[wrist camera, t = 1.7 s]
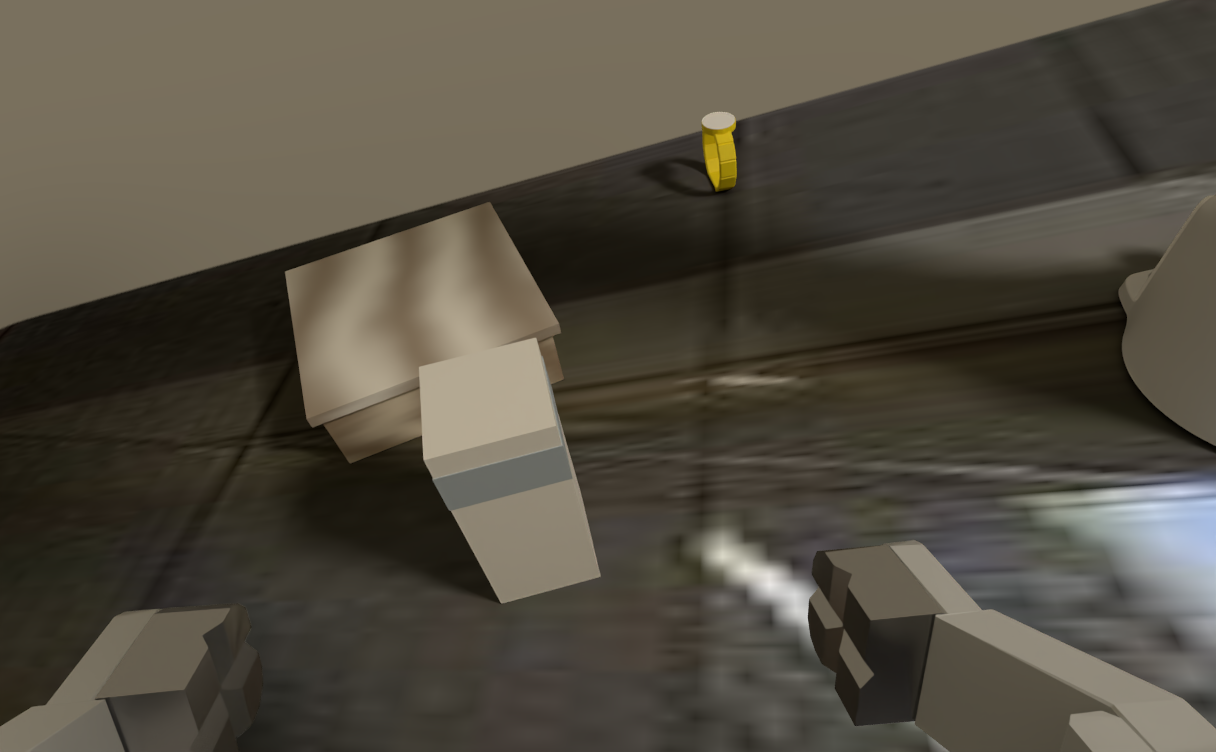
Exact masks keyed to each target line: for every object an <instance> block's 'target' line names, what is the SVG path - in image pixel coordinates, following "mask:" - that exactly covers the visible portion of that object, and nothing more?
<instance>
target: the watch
mask: <svg viewBox="0 0 1216 752" xmlns="http://www.w3.org/2000/svg"><path fill="white" fill-rule="evenodd" d="M735 127H736V120H735V117H734V116H733V115H732V114H730V113H727V112H714V113H711V114H708V115H706V116H705V117H704V118H703V119H702V131H703V132H702V137H703V152H704V160H705V165H706V169H707V174H708V176H709V177H710V179H711V181H712V183H713V185H714V187H715V189H716V190H715V191H717V192H719V191H724V190H729V189H732V188H733V187H734V186H735V182H736V174H737V169H736V154H735V147H734V143H733V137H732V134H731V132H732V131H733V130H734V129H735Z"/></svg>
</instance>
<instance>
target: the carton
mask: <svg viewBox="0 0 1216 752" xmlns="http://www.w3.org/2000/svg"><path fill="white" fill-rule="evenodd" d="M419 380H420V400H421V420H422V440H423V460H424V462H425V464H426V466H427V468H428V469H429V471H430V473H431V475H432V480H433V482H434V484H435V486H436V488H437V489H438V491H439V493H440V495H441V497H442V499H443V500H444V502H445V504H446V506H447V508H448V510H449V511H451V512H452V514H453V516H454V517H455V519H456V521H457V523H458V525H459V527H460V529H461V530H462V532H463V534H464V536H465V538H466V540H467V541H468V543H469V545H470V547H471V549H472V551H473V553H474V554H475V556H476V558H477V560H478V562H479V564H480V565H481V567H482V569H483V571H484V573H485V575H486V577H487V578H488V580H489V582H490V584H491V586H492V588H493V589H494V591H495V593H496V595H497V597H498V599H499V601H500V602H501V604H502V603H506V602H509V601H513V600H517V599H521V598H524V597H528V596H532V595H535V594H539V593H543V592H546V591H550V590H554V589H557V588H561V587H565V586H568V585H572V584H576V583H579V582H583V581H587V580H590V579H594V578H598V577H601V576H600V572H599V568H598V563H597V559H596V555H595V551H594V547H593V542H592V538H591V534H590V530H589V525H588V521H587V517H586V513H585V508H584V504H583V500H582V496H581V492H580V489H579V485H578V482H577V478H576V475H575V471H574V468H573V464H572V461H571V457H570V454H569V450H568V447H567V443H566V440H565V436H564V433H563V429H562V426H561V422H560V419H559V415H558V412H557V408H556V404H555V400H554V395H553V391H552V387H551V384H550V380H549V377H548V373H547V370H546V366H545V363H544V359H543V356H541V353H540V349H539V346H538V342H537V339H536V338H532V339H528V340H524V341H520V342H516V343H512V344H508V345H504V346H500V347H496V348H492V349H488V350H484V351H480V352H476V353H472V354H468V355H464V356H460V357H456V358H452V359H448V360H444V361H440V362H436V363H432V364H428V365H424V366H420V367H419Z"/></svg>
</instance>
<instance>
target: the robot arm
mask: <svg viewBox="0 0 1216 752" xmlns="http://www.w3.org/2000/svg"><path fill="white" fill-rule="evenodd" d="M1119 298H1120V301H1121V303H1122V306H1123V308H1124V310H1125V312H1126V314H1127V324H1126V328H1125V331H1124V335H1123V339H1122V354H1123V359H1124V362H1125V365H1126V368H1127V370H1128V372H1129V374H1130V376H1131V378H1132V379H1133V381H1134V382H1135V384H1136V385H1137V387H1138V388H1139V389H1140V390H1141V392H1142V393H1143V394H1144V395H1145V396H1146V397H1147V398H1148V400H1149V401H1150V402H1151V403H1152V404H1153V405H1155V406H1156V407H1157V408H1158V409H1159V410H1160V411H1161V412H1162V413H1164V414H1165V415H1166V416H1167V417H1169V418H1170V419H1171V420H1173V421H1174V422H1176V423H1177V424H1178V425H1180V426H1181V427H1183V428H1184V429H1186V430H1187V431H1189V432H1191V433H1192V434H1194V435H1196V436H1198V437H1199V438H1201V439H1203V440H1205V441H1207V442H1209V443H1211V444H1213V445H1215V446H1216V195H1214V196H1207V197H1206V198H1204V199H1203V200H1202V201H1201V202H1200V203H1199V204H1198V205H1197V206H1196V207H1195V209H1194V210H1193V212H1192V213H1191V215H1190V216H1189V218H1188V219H1187V221H1186V222H1185V224H1184V225H1183V227H1182V228H1181V230H1180V231H1179V233H1178V234H1177V236H1176V237H1175V239H1174V240H1173V242H1172V243H1171V245H1170V246H1169V248H1168V249H1167V251H1166V252H1165V254H1164V255H1163V257H1162V258H1161V260H1160V261H1159V263H1158V264H1157V266H1156V267H1155V269H1151V270H1147V271H1143V272H1139V273H1135V274H1132V275H1130V276H1128V277H1127V278H1126V280H1125V281H1124V282H1123V284H1122V285H1121V287H1120V288H1119ZM812 576H813V577H814V579H815V581H816V582H817V584H818V586H819V588H818V589H817V590H816V592H815V593H814V594H813V595H812V596H811V597H810V599H809V609H808V622H809V629H810V636H811V639H812V642H813V645H814V648H815V651H816V653H817V655H818V657H819V659H820V661H821V663H822V664H823V665H824V666H826V667H827V668H829V669H830V670H832V671H833V672H835V673H837V674H836V682H835V690H836V692H837V693H838V695H839V697H840V699H841V701H842V703H843V705H844V706H845V708H846V710H847V712H848V714H849V716H850V718H851V719H852V721H853V723H854V725H855V726H865V725H876V724H888V723H900V722H911V721H915V725H916V726H918V727H919V728H920V729H922V730H923V731H924V732H925V733H927V734H928V735H929V736H930V737H932V738H933V739H934V740H936V741H937V742H938V743H939V744H941V745H942V746H943V747H945V748H946V749H947V750H948V751H950V752H1216V729H1215V728H1214V727H1213V726H1212V725H1211V724H1210V723H1209V722H1208V721H1207V720H1206V719H1204V718H1203V717H1202V716H1201V715H1200V714H1199V713H1198V712H1197V711H1196V710H1195V709H1194V708H1192V707H1191V706H1190V705H1189V704H1188V703H1187V702H1186V701H1185V700H1184V699H1182V698H1180V697H1178V696H1176V695H1174V694H1171V693H1169V692H1167V691H1165V690H1163V689H1161V688H1159V687H1157V686H1154V685H1152V684H1150V683H1148V682H1146V681H1144V680H1142V679H1139V678H1137V677H1135V676H1133V675H1131V674H1129V673H1127V672H1125V671H1122V670H1120V669H1118V668H1116V667H1114V666H1112V665H1110V664H1107V663H1105V662H1103V661H1101V660H1099V659H1097V658H1095V657H1093V656H1090V655H1088V654H1086V653H1084V652H1082V651H1080V650H1078V649H1075V648H1073V647H1071V646H1069V645H1067V644H1065V643H1063V642H1061V641H1058V640H1056V639H1054V638H1052V637H1050V636H1048V635H1046V634H1044V633H1041V632H1039V631H1037V630H1035V629H1033V628H1031V627H1029V626H1026V625H1024V624H1022V623H1020V622H1018V621H1016V620H1014V619H1012V618H1009V617H1007V616H1005V615H1003V614H1001V613H999V612H997V611H994V610H981V609H980V607H979V606H978V605H977V604H976V603H975V602H974V601H973V600H972V599H971V597H970V596H969V595H968V594H967V593H966V592H965V591H964V590H963V589H962V587H961V586H960V585H959V584H958V583H957V582H956V581H955V580H954V579H953V577H952V576H951V575H950V574H949V573H948V572H947V571H946V570H945V569H944V567H943V566H942V565H941V564H940V563H939V562H938V561H937V560H936V559H935V557H934V556H933V555H932V554H931V553H930V552H929V551H928V550H927V549H926V547H925V546H924V545H923V544H922V543H919V542H917V541H915V540H912V541H903V542H895V543H886V544H882V545H879V546H868V547H858V548H847V549H837V550H826V551H817V553H816V555H815V558H814V560H813V568H812ZM251 627H252V626H251V623H250V620H249V617H248V613H247V610H246V607H244V606H242V605H240V604H239V603H234V604H219V605H205V606H190V607H176V608H164V609H152V610H140V611H128V612H124V613H122V614H119V615H117V616H115V617H114V618H113V619H112V620H111V622H110V623H109V624H108V626H107V627H106V628H105V629H104V631H103V632H102V633H101V634H100V636H99V637H98V638H97V640H96V641H95V642H94V643H93V645H92V646H91V647H90V649H89V650H88V651H87V652H86V654H85V655H84V656H83V658H82V659H81V660H80V661H79V663H78V664H77V665H76V667H75V668H74V669H73V670H72V672H71V673H70V674H69V676H68V677H67V678H66V679H65V681H64V682H63V683H62V685H61V686H60V687H59V688H58V690H57V691H56V692H55V694H54V695H53V696H52V697H51V699H50V700H49V701H48V703H47V704H46V705H43V706H35V707H31V708H29V709H28V710H26V711H25V712H23V713H21V714H20V715H18V716H16V717H15V718H13V719H12V720H10V721H8V722H7V723H5V724H4V725H2V726H0V752H239V749H238V745H237V742H236V738H237V737H239V736H240V735H241V734H242V733H243V732H244V731H246V730H247V729H248V728H249V727H250V726H251V725H252V724H253V722H254V719H255V716H256V714H257V711H258V709H259V706H260V700H261V694H262V688H263V675H262V665H261V661H260V657H259V653H258V652H257V651H256V650H255V649H253V648H252V647H251V646H249V645H248V644H247V643H246V642H245V640H246V637H247V635H248V633H249V631H250V629H251Z"/></svg>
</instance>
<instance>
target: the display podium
mask: <svg viewBox="0 0 1216 752" xmlns="http://www.w3.org/2000/svg"><path fill="white" fill-rule="evenodd" d="M285 275H286V282H287V289H288V295H289V302H290V309H291V316H292V323H293V330H294V337H295V344H296V351H297V357H298V364H299V371H300V378H301V385H302V392H303V399H304V406H305V412H306V419H307V421H308V422H309V424H310V425H311V426H312V428H313V427H315V426H318V425H321V424H324V426H325V427H326V429H327V430H328V432H329V433H330V435H331V436H332V438H333V439H334V441H335V442H336V444H337V445H338V447H339V448H340V450H341V451H342V453H343V454H344V456H345V457H346V459H347V460H348V462H349V463H353V462H355V461H358V460H361V459H363V458H366V457H368V456H371V455H373V454H376V453H378V452H381V451H383V450H386V449H388V448H391V447H394V446H396V445H399V444H401V443H404V442H406V441H409V440H411V439H414V438H416V437H419V436H421V435H422V420H421V400H420V380H419V367H420V366H424V365H428V364H432V363H436V362H440V361H444V360H448V359H452V358H456V357H460V356H464V355H468V354H472V353H476V352H480V351H484V350H488V349H492V348H496V347H500V346H504V345H508V344H512V343H516V342H520V341H524V340H528V339H532V338H536V339H537V342H538V346H539V349H540V353H541V356H543V359H544V363H545V366H546V370H547V373H548V377H549V380H550V384H553V383H556V382H558V381H561V380H563V379H564V377H563V374H562V370H561V366H560V362H559V358H558V355H557V351H556V347H555V343H554V339H553V336H554V335H556V334H559V333H561V330H560V326H559V323H558V321H557V319H556V318H555V316H554V314H553V312H552V310H551V309H550V307H549V305H548V303H547V302H546V300H545V298H544V296H543V295H542V293H541V291H540V289H539V288H538V286H537V284H536V282H535V281H534V279H533V277H532V275H531V274H530V272H529V270H528V268H527V266H526V265H525V263H524V261H523V259H522V258H521V256H520V254H519V252H518V251H517V249H516V247H515V245H514V244H513V242H512V240H511V238H510V237H509V235H508V233H507V231H506V230H505V228H504V226H503V224H502V223H501V221H500V219H499V217H498V215H497V214H496V212H495V210H494V208H493V207H492V205H491V203H490V202H488V203H485V204H482V205H479V206H476V207H473V208H470V209H467V210H464V211H461V212H458V213H455V214H453V215H450V216H447V217H444V218H441V219H438V220H435V221H432V222H429V223H426V224H423V225H420V226H417V227H414V228H411V229H409V230H406V231H403V232H400V233H397V234H394V235H391V236H388V237H385V238H382V239H379V240H376V241H373V242H370V243H367V244H365V245H362V246H359V247H356V248H353V249H350V250H347V251H344V252H341V253H338V254H335V255H332V256H329V257H326V258H323V259H321V260H318V261H315V262H312V263H309V264H306V265H303V266H300V267H297V268H294V269H291V270H288V271H285Z"/></svg>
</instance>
